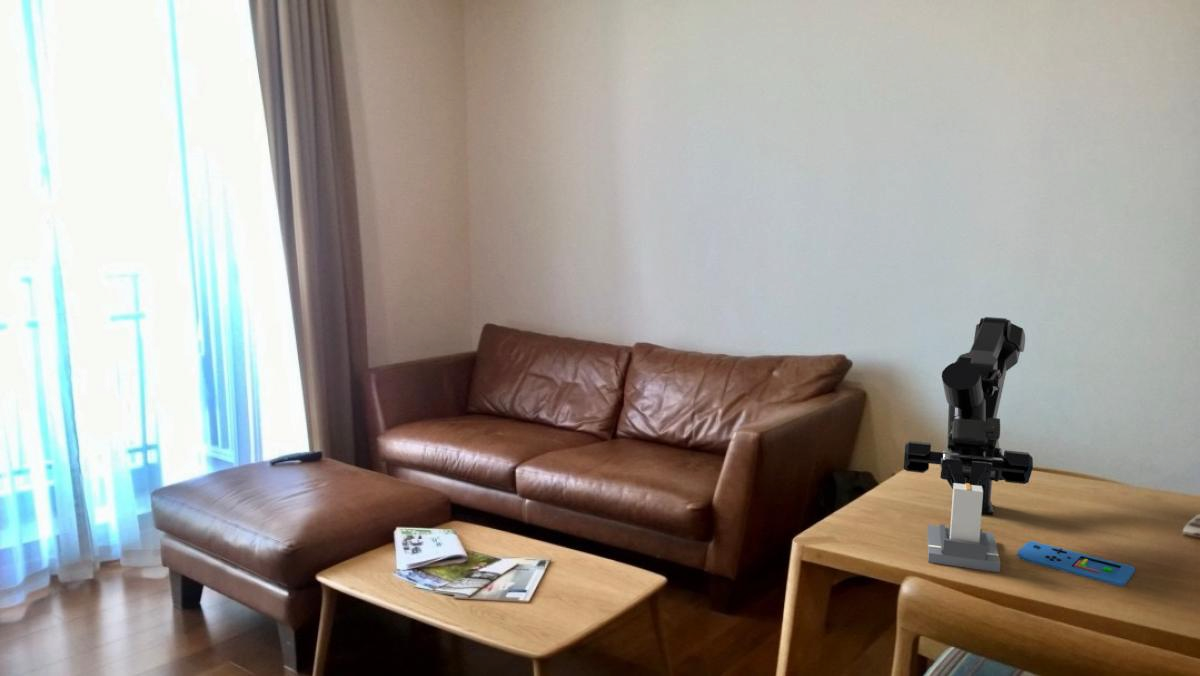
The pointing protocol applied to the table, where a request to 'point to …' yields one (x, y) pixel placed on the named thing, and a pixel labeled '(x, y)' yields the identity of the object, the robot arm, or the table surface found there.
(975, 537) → the grey upright block
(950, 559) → the grey socket base
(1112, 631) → the table surface
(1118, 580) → the handheld gaming device
